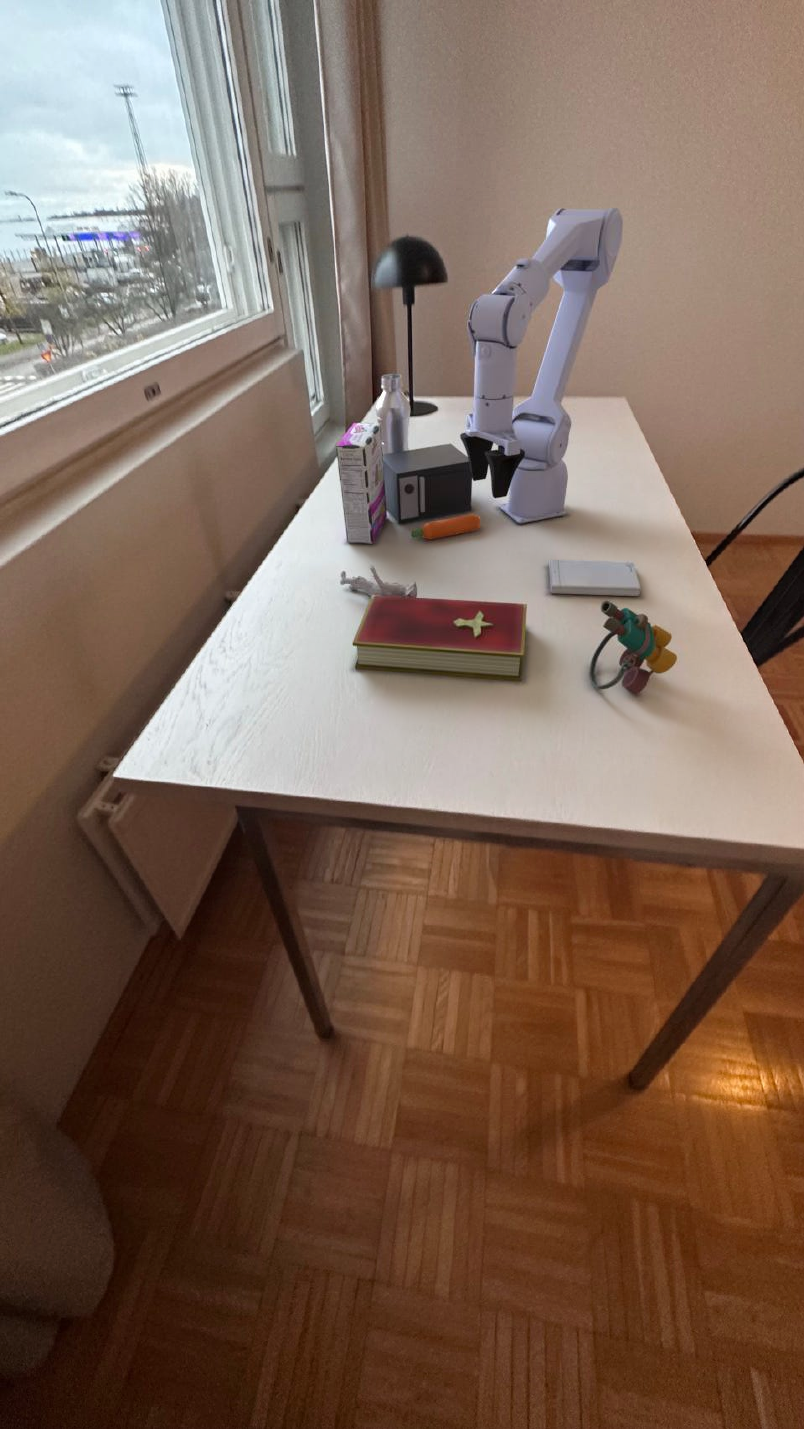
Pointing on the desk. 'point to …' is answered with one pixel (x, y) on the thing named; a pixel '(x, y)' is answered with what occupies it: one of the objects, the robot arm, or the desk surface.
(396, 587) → the soldier figure
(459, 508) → the mini oven
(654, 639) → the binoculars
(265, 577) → the desk surface
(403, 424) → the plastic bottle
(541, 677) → the desk surface
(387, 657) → the hardcover book
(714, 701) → the desk surface
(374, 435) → the candy bar box
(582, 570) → the hard drive
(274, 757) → the desk surface
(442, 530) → the carrot
